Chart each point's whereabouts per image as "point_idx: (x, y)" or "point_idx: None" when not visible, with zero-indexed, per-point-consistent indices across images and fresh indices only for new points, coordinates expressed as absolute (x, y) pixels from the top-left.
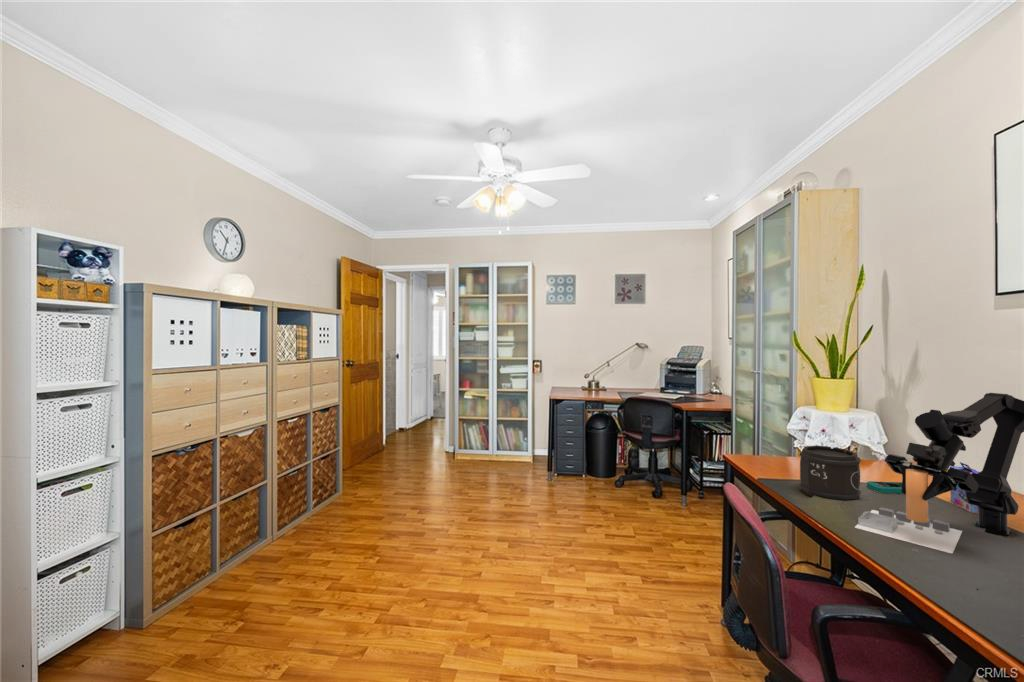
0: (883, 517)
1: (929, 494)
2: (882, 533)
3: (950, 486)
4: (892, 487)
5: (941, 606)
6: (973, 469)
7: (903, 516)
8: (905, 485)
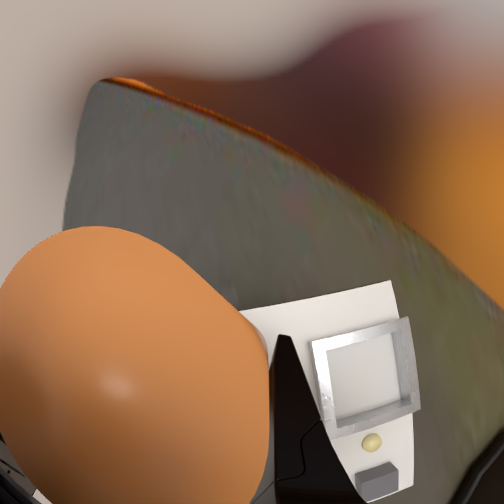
0: (366, 417)
1: None
2: (324, 309)
3: None
4: None
5: (143, 93)
6: None
7: None
8: (275, 374)
